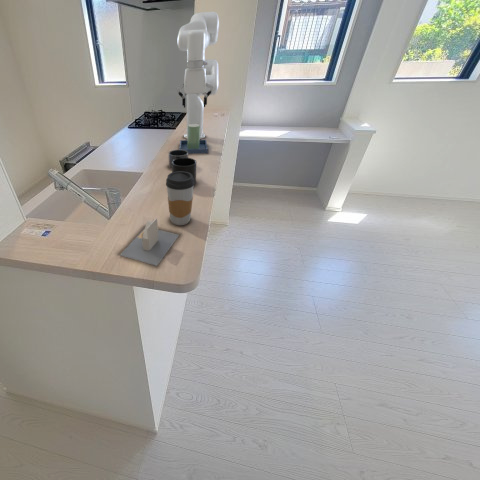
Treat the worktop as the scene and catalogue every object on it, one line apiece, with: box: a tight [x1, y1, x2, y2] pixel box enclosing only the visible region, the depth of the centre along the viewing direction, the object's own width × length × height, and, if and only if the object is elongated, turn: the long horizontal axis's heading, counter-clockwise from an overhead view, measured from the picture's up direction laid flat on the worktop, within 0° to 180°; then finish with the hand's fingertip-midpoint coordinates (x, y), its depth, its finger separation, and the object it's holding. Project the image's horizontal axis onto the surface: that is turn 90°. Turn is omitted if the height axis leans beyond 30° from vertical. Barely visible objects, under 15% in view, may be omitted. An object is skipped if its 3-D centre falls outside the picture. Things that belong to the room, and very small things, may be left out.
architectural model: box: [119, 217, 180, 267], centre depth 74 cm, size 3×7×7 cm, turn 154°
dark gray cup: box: [168, 149, 189, 170], centre depth 121 cm, size 9×9×6 cm
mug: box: [171, 157, 197, 186], centre depth 106 cm, size 9×12×9 cm
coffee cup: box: [165, 171, 195, 226], centre depth 81 cm, size 8×8×15 cm
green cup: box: [186, 124, 201, 149], centre depth 138 cm, size 6×6×12 cm
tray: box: [178, 139, 209, 155], centre depth 141 cm, size 16×14×2 cm
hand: (194, 106), depth 130 cm, fingers open, 9 cm apart
